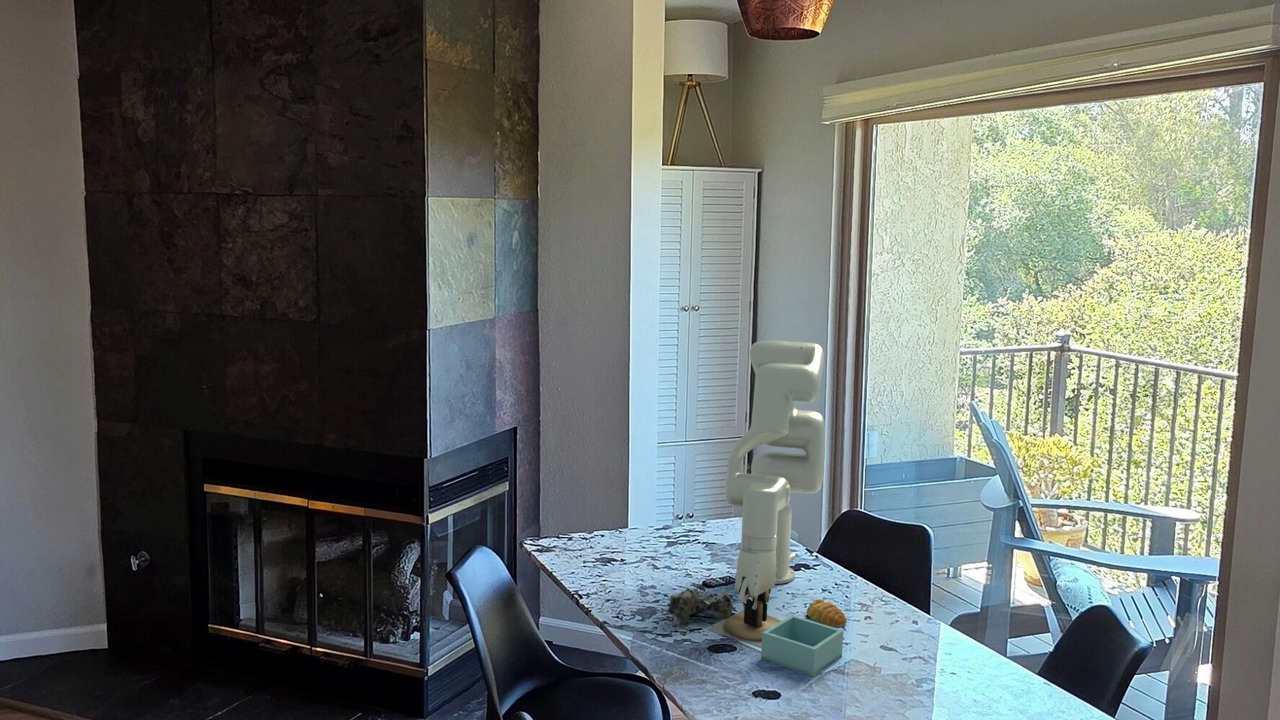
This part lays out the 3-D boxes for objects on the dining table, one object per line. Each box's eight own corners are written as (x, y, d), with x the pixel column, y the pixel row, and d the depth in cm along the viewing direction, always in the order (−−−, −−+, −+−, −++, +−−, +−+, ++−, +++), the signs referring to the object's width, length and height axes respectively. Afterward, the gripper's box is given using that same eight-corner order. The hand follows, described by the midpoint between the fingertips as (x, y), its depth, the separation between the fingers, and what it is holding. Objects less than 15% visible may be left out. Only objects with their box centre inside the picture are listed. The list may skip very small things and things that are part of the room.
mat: (744, 611, 235) (744, 609, 235) (802, 629, 226) (802, 627, 226) (706, 631, 224) (706, 629, 224) (766, 651, 215) (766, 649, 214)
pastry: (854, 626, 229) (855, 609, 229) (832, 632, 226) (832, 616, 225) (824, 611, 237) (825, 595, 236) (802, 617, 233) (803, 601, 233)
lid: (745, 611, 234) (746, 587, 233) (795, 627, 226) (797, 602, 225) (713, 629, 224) (714, 604, 223) (765, 646, 216) (766, 620, 215)
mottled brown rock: (744, 615, 225) (689, 580, 222) (716, 653, 226) (660, 620, 223) (734, 592, 237) (681, 559, 234) (707, 629, 238) (654, 597, 235)
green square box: (790, 641, 219) (792, 615, 219) (841, 658, 212) (843, 630, 211) (761, 660, 210) (762, 632, 209) (813, 678, 203) (814, 649, 202)
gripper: (763, 528, 231) (760, 606, 233) (723, 546, 218) (719, 629, 221) (793, 536, 226) (789, 615, 229) (753, 554, 213) (749, 638, 216)
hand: (755, 621), depth 225 cm, fingers closed on lid, 3 cm apart
